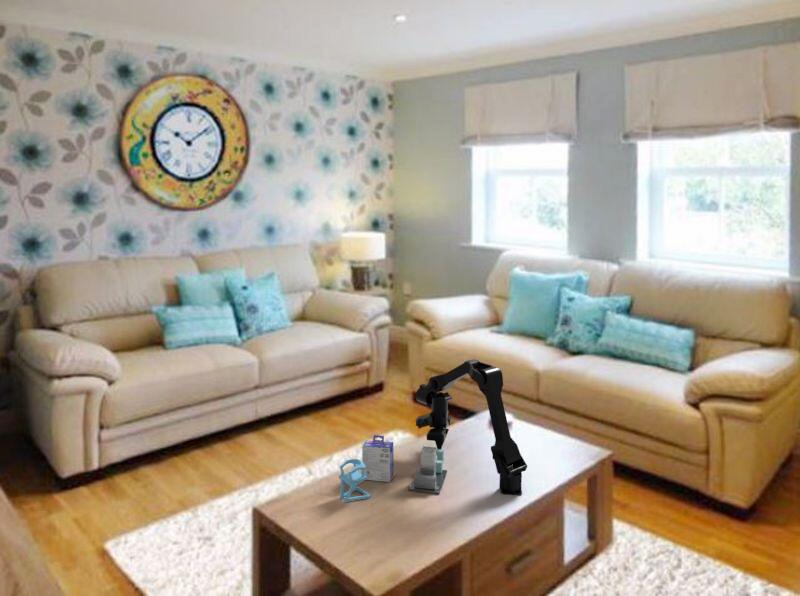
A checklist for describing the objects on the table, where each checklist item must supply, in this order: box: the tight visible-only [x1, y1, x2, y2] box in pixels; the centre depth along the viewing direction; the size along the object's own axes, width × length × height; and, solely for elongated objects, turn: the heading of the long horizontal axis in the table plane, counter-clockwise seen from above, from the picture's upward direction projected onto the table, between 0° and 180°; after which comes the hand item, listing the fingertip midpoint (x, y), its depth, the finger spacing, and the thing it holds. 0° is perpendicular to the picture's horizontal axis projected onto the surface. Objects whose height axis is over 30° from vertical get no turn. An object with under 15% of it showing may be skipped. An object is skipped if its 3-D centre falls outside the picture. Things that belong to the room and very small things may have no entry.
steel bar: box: [420, 446, 437, 476], centre depth 216 cm, size 4×4×10 cm
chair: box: [338, 458, 371, 503], centre depth 206 cm, size 8×8×12 cm
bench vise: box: [408, 467, 448, 495], centre depth 216 cm, size 16×10×5 cm, turn 167°
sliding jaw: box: [436, 448, 445, 473], centre depth 226 cm, size 11×7×4 cm, turn 167°
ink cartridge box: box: [361, 434, 395, 483], centre depth 218 cm, size 10×6×14 cm, turn 79°
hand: (439, 449), depth 237 cm, fingers closed
